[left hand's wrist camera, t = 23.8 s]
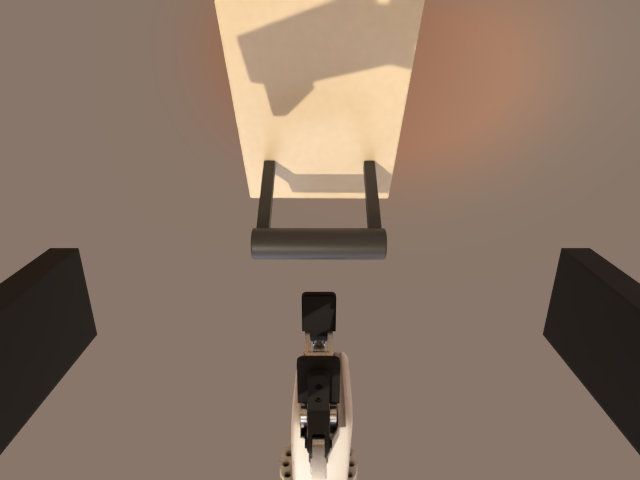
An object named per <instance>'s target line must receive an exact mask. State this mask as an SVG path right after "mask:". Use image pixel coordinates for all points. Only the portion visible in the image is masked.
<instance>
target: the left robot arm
mask: <svg viewBox="0 0 640 480" xmlns="http://www.w3.org/2000/svg"><path fill="white" fill-rule="evenodd" d="M96 335H97V332H96V327H95V322H94V318H93V313H92V309H91V304H90V299H89V295H88V290H87V286H86V281H85V276H84V272H83V267H82V262H81V258H80V253H79V249H78V248H50V249H48V250H47V251H46V252H44V253H43V254H41V255H40V256H39V257H37V258H36V259H34V260H33V261H32V262H30V263H29V264H27V265H26V266H24V267H23V268H22V269H20V270H19V271H17V272H16V273H15V274H13V275H12V276H10V277H9V278H8V279H6V280H5V281H3V282H2V283H0V454H1V453H2V452H3V451H4V450H5V448H6V447H7V446H8V445H9V443H10V442H11V441H12V440H13V438H14V437H15V436H16V435H17V433H18V432H19V431H20V430H21V428H22V427H23V426H24V425H25V424H26V422H27V421H28V420H29V418H30V417H31V416H32V415H33V413H34V412H35V411H36V410H37V409H38V407H39V406H40V405H41V404H42V402H43V401H44V400H45V399H46V397H47V396H48V395H49V394H50V392H51V391H52V390H53V389H54V387H55V386H56V385H57V384H58V382H59V381H60V380H61V379H62V378H63V376H64V375H65V374H66V373H67V371H68V370H69V369H70V368H71V366H72V365H73V364H74V363H75V361H76V360H77V359H78V358H79V356H80V355H81V354H82V353H83V351H84V350H85V349H86V348H87V346H88V345H89V344H90V343H91V341H92V340H93V339H94V338H95V336H96ZM543 335H544V336H545V338H546V339H547V340H548V341H549V343H550V344H551V345H552V346H553V348H554V349H555V350H556V351H557V353H558V354H559V355H560V356H561V358H562V359H563V360H564V361H565V363H566V364H567V365H568V366H569V368H570V369H571V370H572V371H573V373H574V374H575V375H576V376H577V377H578V379H579V380H580V381H581V382H582V384H583V385H584V386H585V387H586V389H587V390H588V391H589V392H590V394H591V395H592V396H593V397H594V399H595V400H596V401H597V402H598V404H599V405H600V406H601V407H602V408H603V410H604V411H605V412H606V414H607V415H608V416H609V417H610V419H611V420H612V421H613V422H614V424H615V425H616V426H617V427H618V428H619V430H620V431H621V432H622V433H623V435H624V436H625V437H626V438H627V440H628V441H629V442H630V443H631V445H632V446H633V447H634V448H635V450H636V451H637V452H638V453H639V455H640V283H638V282H637V281H635V280H634V279H632V278H631V277H630V276H628V275H627V274H625V273H624V272H623V271H621V270H620V269H618V268H617V267H616V266H614V265H613V264H611V263H610V262H608V261H607V260H606V259H604V258H603V257H601V256H600V255H599V254H597V253H596V252H594V251H593V250H592V249H590V248H562V249H561V253H560V258H559V262H558V267H557V272H556V276H555V281H554V286H553V290H552V295H551V299H550V304H549V309H548V313H547V318H546V322H545V327H544V332H543Z"/></svg>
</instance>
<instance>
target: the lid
mask: <svg viewBox="0 0 640 480" xmlns="http://www.w3.org/2000/svg"><path fill="white" fill-rule="evenodd" d="M214 2H215V7H216V12H217V18H218V23H219V29H220V34H221V40H222V45H223V50H224V56H225V61H226V67H227V73H228V78H229V84H230V89H231V94H232V100H233V105H234V110H235V116H236V122H237V127H238V133H239V138H240V143H241V149H242V155H243V160H244V165H245V171H246V176H247V182H248V187H249V193H250V197H251V198H260V200H259V210H258V219H257V228H254V229H253V230H252V234H251V254H252V258H253V259H380V260H383V259H385V257H386V253H387V235H386V230H385V229H383V228H381V218H380V208H379V198H388V197H389V191H390V186H391V181H392V175H393V170H394V164H395V159H396V154H397V148H398V143H399V137H400V132H401V126H402V121H403V115H404V110H405V105H406V99H407V94H408V88H409V83H410V78H411V72H412V67H413V61H414V56H415V50H416V45H417V39H418V34H419V29H420V23H421V18H422V12H423V7H424V2H425V0H214ZM273 198H366V212H367V225H368V228H270V226H271V214H272V202H273Z"/></svg>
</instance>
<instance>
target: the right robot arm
mask: <svg viewBox="0 0 640 480" xmlns="http://www.w3.org/2000/svg"><path fill="white" fill-rule="evenodd" d="M302 331H305V353H304V352H303V353H301V354H300V355H299V356H298V359H297V370H296V378H295V386H294V396H293V406H292V425H291V442H290V443H289V444H288V445H287V446H286V447H285V449H284V450H283V452H282V454H281V457H280V480H357V464H358V463H357V457H356V454H355V452H354V450H353V448H352V447H351V435H352V424H353V409H352V395H351V384H350V373H349V364H348V358H347V356H346V354H345V353H343V352H341V353H337V352H335V353H334V354H333V331H336V294H335V293H334V292H304V293H303V294H302ZM310 340H311V341H313V352H310ZM325 341H327V352H325Z"/></svg>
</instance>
